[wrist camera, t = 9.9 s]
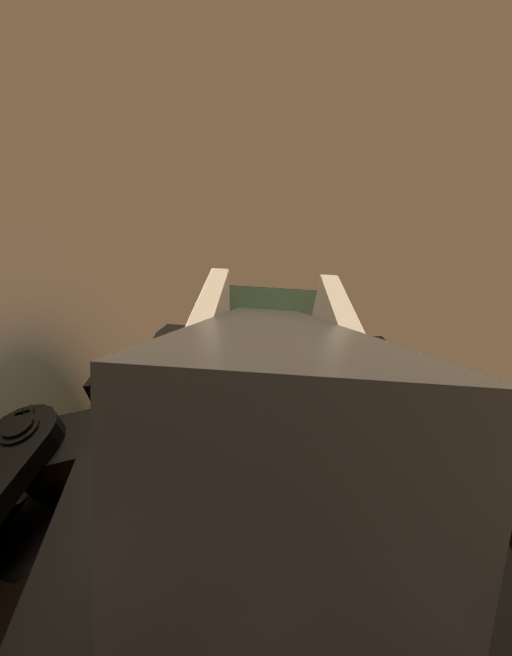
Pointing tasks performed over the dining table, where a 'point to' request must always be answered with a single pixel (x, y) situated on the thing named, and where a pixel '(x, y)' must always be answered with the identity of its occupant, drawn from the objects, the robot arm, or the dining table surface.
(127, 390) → the bar
